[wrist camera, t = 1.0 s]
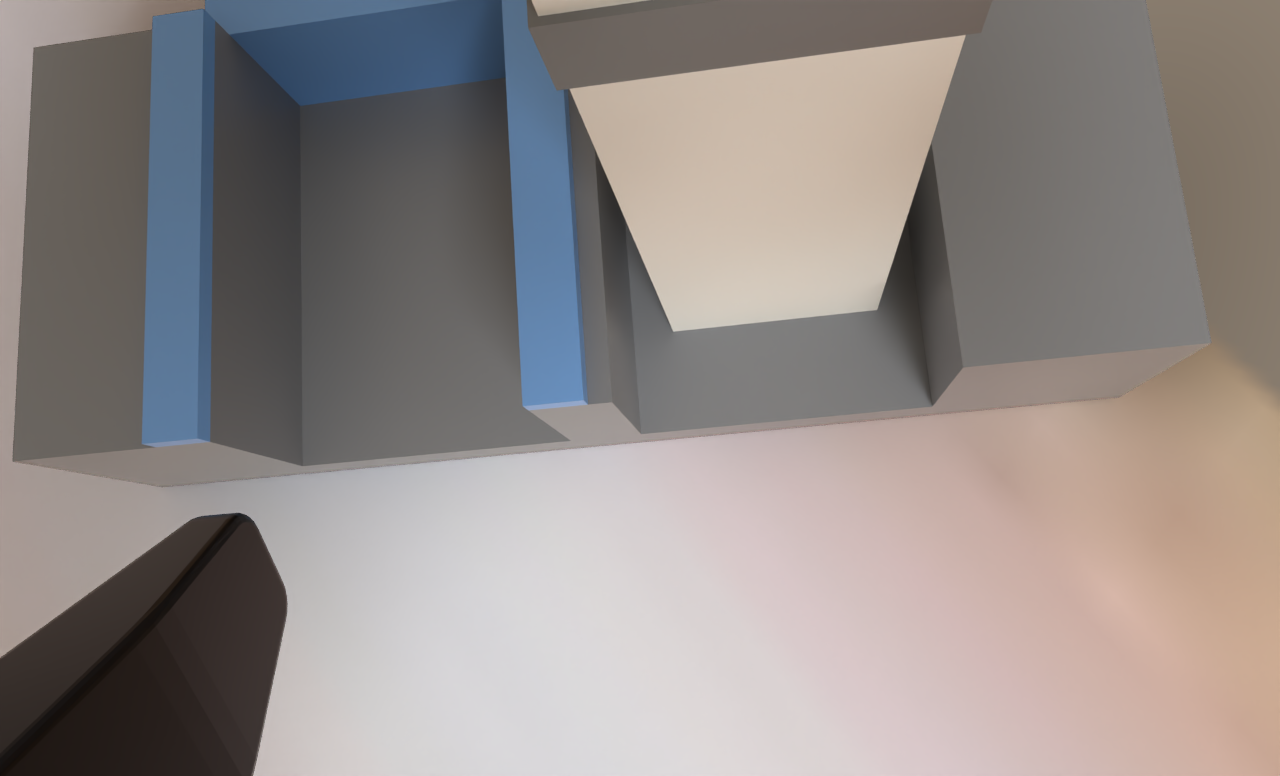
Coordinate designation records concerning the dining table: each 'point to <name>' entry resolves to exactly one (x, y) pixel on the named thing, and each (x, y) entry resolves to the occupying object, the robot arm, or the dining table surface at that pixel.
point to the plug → (759, 139)
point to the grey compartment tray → (538, 250)
